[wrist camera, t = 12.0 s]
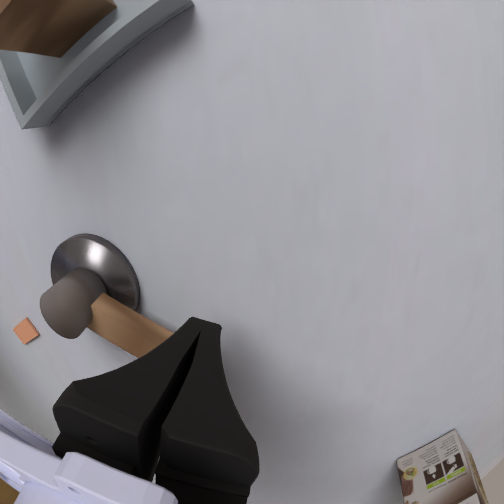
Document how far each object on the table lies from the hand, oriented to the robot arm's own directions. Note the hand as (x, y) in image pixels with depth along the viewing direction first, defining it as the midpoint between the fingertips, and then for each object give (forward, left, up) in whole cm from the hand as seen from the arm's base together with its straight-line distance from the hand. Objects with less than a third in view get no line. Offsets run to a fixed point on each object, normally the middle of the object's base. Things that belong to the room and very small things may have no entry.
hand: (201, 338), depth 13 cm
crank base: (-6, +4, -4) cm, 8 cm away
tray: (+2, +18, -4) cm, 19 cm away
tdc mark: (-17, +4, -4) cm, 17 cm away
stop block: (+2, +18, -3) cm, 18 cm away
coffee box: (+8, -26, -4) cm, 27 cm away
